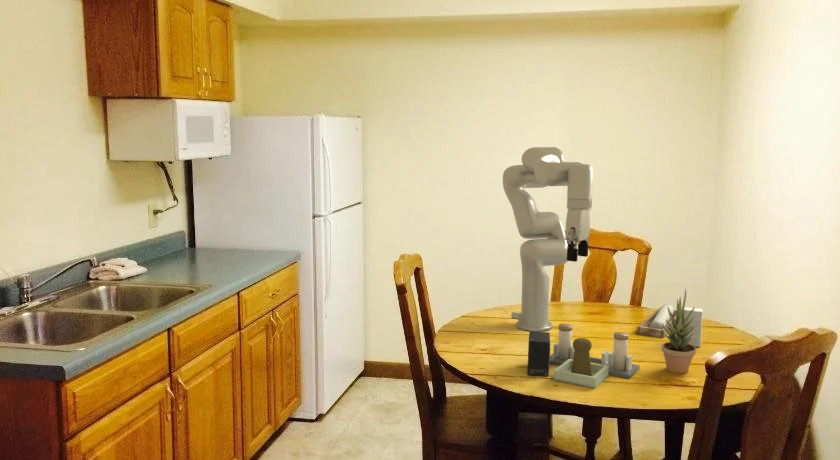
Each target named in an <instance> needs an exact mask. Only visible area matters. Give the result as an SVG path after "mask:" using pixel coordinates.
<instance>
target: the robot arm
mask: <svg viewBox="0 0 840 460" xmlns="http://www.w3.org/2000/svg"><path fill="white" fill-rule="evenodd" d="M521 163H522V164H515V165H512V166H508V167H506V168H505V169H504V171H503V173H502V187H503V190H504V193H505V196H506V198H507V199H508V201H509V203H510V205H511V208H512V212H513V216H514V219H515V224H516V227H517V232H518V234H519V235H520V237H521V238H523V239H526V241H524V242H522V244H521V245H520V249H519V256H520V262H521V310H520V311H521V312H516V311H512V312H511V319H514V320H518V321H517V322H516V327H517V328H518V329H520V330H524V331H528V332H530V331H537V332H546V331H550V330H552V329H553V323H552V322H550V321H549V309H550V308H549V307H550V305H549V303H550V302H549V301H550V297H549V296H550V278H549V275H548V273H547V271H546V270H545V268H544V267H549V266H562V265H565V264H566V263H568V262H574V263H575V262H576V263H577V262H578V257H586V258H587V257H588V256H589V242H590V240H589V238H590V229H591V228H590V225H591V218H590V217H591V216H590V215H591V214H590V210H592V209H593V207H592V206H593V186H594V185H593V179H594V178H593V177H594V168H593V166H592V165H591V164H587V163H586V164H585V163H583V162H578V161H569V162H568V161H565V157H564V153H563V151H562V150H561V149H560V148H558V147H555V146H551V147H550V146H547V147H545V146H536V147H530V148H528V149H526V150H525V151H524V152H523V153H522V156H521ZM546 187H567V191H566V192H567V193H566V197H567V198H566V209H567V213H566V219H565V228H564V225H563V222H562V219H561V218H560V216H559V215H558V214H557V213H555V212H553V211H540V210H538V207H537V203H536V201H535V199H534V198H533V197H532V195H530V193H529V192H527V191H526V190H525V189H538V188H539V189H540V188H541V189H542V188H546ZM527 239H528V240H527Z"/></svg>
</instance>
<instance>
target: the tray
mask: <svg viewBox="0 0 840 460" xmlns="http://www.w3.org/2000/svg"><path fill="white" fill-rule="evenodd" d="M572 363H573V359H568V360H567V361H565V362H564V363H563V364H562V365H560V366H559V365H558V366H557V368H555V369H553V381H554V382H560V383H563V384H569V385H574V386H580V387H585V388H589V389H595V390H596V388H597V387H599V385H600V384H602V382H604V381H605V379H607V378H608V377H609V375H608V371H609V366H606V365H601V363H596V362H590V363H591V373H592V376H587V375H582V374H577V373H572V372H571V368H572Z"/></svg>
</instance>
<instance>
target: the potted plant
mask: <svg viewBox="0 0 840 460" xmlns="http://www.w3.org/2000/svg"><path fill="white" fill-rule="evenodd" d="M686 299H687V289H684V297H683V302H682V297H679V299H678V298H677V300H676V310H677V311H676V320H675V319H674V317H673V315H672V313H671V311H670V309H669V307H668V312H669V316H670V318H671V319H670V321H671V322H672V325H673V326H672V325H671V324H670V323H669V322H670V321H669V322H668V321H667V320H666V322H667V324H668V326H669V327H668V326H667V325H666V327H667V328H668V330H669V331H670V332H669V331H668V330H667V329H666V328H665V327H664V325H663V324H662V326H663V328H664V329H665V331H666V332H667V333H668V334H667V335H666V334H664V335H665V337H666V338H667V339H668V340H669V341H666V342H663V343H662V344H661V351H662V353H663V357H664V362H665V366H666V368H665V369H666V370H667V371H668V372H671V373H675V374H685V373H688V372H689V370H690V366H691V363H692V361H693V357H694V356H695V355H696V353H697V348H696V347H695V346H693V345H691V344H688V343H689V341H690V340H691V338H690V337H691V336H692V335H693V334H692V335H690V336H689V337H688V338H686V337H687V335H688V334H689V333H690V332H691V331H692V330H693V329H694V327H695V326H693V327H692V328H691V326H692V325H691V326H690V327H689V325H690V324H691V322H692V320H693V318H694V317H693V318H692V319H691V320H690V321H689V322H688V323H687V321H688V320H689V318H690V316H691V314H692V313H693V311H694V308H696V307H695V306H694V307H692V308H693V309H692V310H691V312H690V313H689V314H688V316H687V317H686V318H685V313H686V310H685V311H684V309H685V307H686V301H687V300H686ZM686 323H687V324H686ZM685 324H686V325H685ZM688 327H689V328H688ZM687 328H688V329H687ZM690 328H691V329H690ZM689 329H690V330H689ZM688 331H689V332H688ZM685 338H686V339H685ZM689 338H690V339H689ZM688 339H689V340H688Z"/></svg>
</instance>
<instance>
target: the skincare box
mask: <svg viewBox="0 0 840 460" xmlns="http://www.w3.org/2000/svg"><path fill="white" fill-rule="evenodd" d="M693 308H694V307H687V306H685V309H684V311H685V310H686V313H685V318H686V317H687V316H688V314H689V313H690V312H691V310H692V309H693ZM703 313H704V309H703V308H696V307H695V308H694V311H693V313H692V314H691V316H690V318H689V320H688V321H687V323H688V322H689V321H690V320H691V319H692V318H693V317H694V318H693V320H692V322H691V324H690V325H689V327H690V326H691V325H692V326H691V328H692V327H693V326H695V327H694V329H693V330H692V331H691V332H690V333H689V334H688V335H687V337H686V338H688V337H689V336H690V335H692V334H693V335H692V336H691V337H690V338H691V340H690V341H689V343H688V344H691V345H693V346H694V347H697V348H700V347H701V346H702V335H703V334H702V333H703V332H702V331H703ZM687 323H686V324H687ZM686 324H685V325H686ZM689 327H688V328H689ZM688 328H687V329H688ZM691 328H690V329H691ZM690 329H689V330H690ZM688 332H689V331H688ZM686 338H685V339H686ZM690 338H689V339H690ZM689 339H688V340H689Z"/></svg>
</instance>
